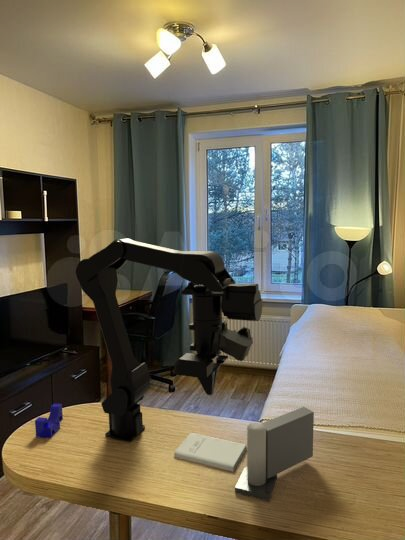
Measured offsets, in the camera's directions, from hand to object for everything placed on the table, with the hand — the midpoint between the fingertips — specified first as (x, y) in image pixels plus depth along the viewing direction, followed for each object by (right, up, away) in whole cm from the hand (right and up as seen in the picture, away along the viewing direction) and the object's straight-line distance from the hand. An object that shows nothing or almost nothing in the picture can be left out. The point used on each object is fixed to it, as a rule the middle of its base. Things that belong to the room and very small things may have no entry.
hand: (209, 394), depth 81 cm
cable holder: (-35, -12, +12) cm, 39 cm away
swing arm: (+13, -12, -6) cm, 18 cm away
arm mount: (+8, -13, -9) cm, 18 cm away
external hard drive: (0, -13, +1) cm, 13 cm away
